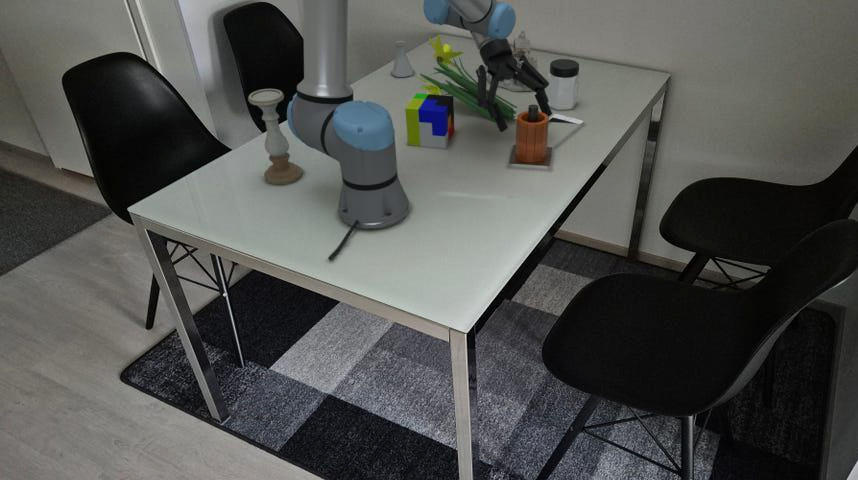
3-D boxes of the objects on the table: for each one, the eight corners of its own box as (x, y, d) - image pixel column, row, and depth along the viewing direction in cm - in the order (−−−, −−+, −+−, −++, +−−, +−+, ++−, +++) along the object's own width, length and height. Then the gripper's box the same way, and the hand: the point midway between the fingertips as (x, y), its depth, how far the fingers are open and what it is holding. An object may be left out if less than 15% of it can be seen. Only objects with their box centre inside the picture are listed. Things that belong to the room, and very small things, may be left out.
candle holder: (263, 170, 153) (243, 90, 140) (299, 164, 155) (283, 85, 143) (266, 188, 146) (246, 105, 134) (304, 181, 149) (288, 99, 136)
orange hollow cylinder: (545, 163, 153) (547, 125, 147) (514, 161, 154) (515, 123, 148) (547, 149, 159) (549, 111, 153) (517, 147, 160) (518, 110, 154)
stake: (549, 170, 153) (553, 116, 144) (508, 167, 154) (510, 113, 145) (551, 151, 160) (555, 99, 152) (512, 148, 162) (514, 96, 153)
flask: (389, 71, 205) (386, 40, 199) (411, 68, 207) (409, 37, 201) (393, 79, 200) (391, 47, 193) (416, 76, 201) (414, 45, 195)
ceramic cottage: (487, 71, 204) (489, 25, 194) (537, 74, 203) (542, 28, 193) (485, 93, 192) (487, 45, 182) (539, 96, 192) (544, 48, 182)
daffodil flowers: (486, 141, 167) (390, 78, 177) (506, 148, 180) (416, 89, 190) (519, 84, 162) (419, 23, 172) (537, 95, 176) (443, 37, 186)
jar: (570, 112, 179) (574, 71, 172) (543, 107, 182) (546, 67, 174) (579, 100, 186) (583, 60, 178) (553, 96, 188) (555, 56, 181)
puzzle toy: (445, 148, 162) (444, 111, 156) (408, 144, 164) (405, 108, 157) (454, 131, 170) (453, 96, 163) (418, 128, 171) (416, 93, 165)
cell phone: (584, 123, 173) (584, 120, 172) (553, 149, 161) (553, 145, 160) (555, 116, 177) (555, 113, 176) (523, 140, 165) (523, 137, 164)
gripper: (526, 42, 163) (558, 117, 162) (443, 62, 152) (478, 142, 151) (539, 26, 156) (573, 104, 155) (454, 46, 145) (490, 129, 145)
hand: (526, 123), depth 153 cm, fingers open, 13 cm apart
